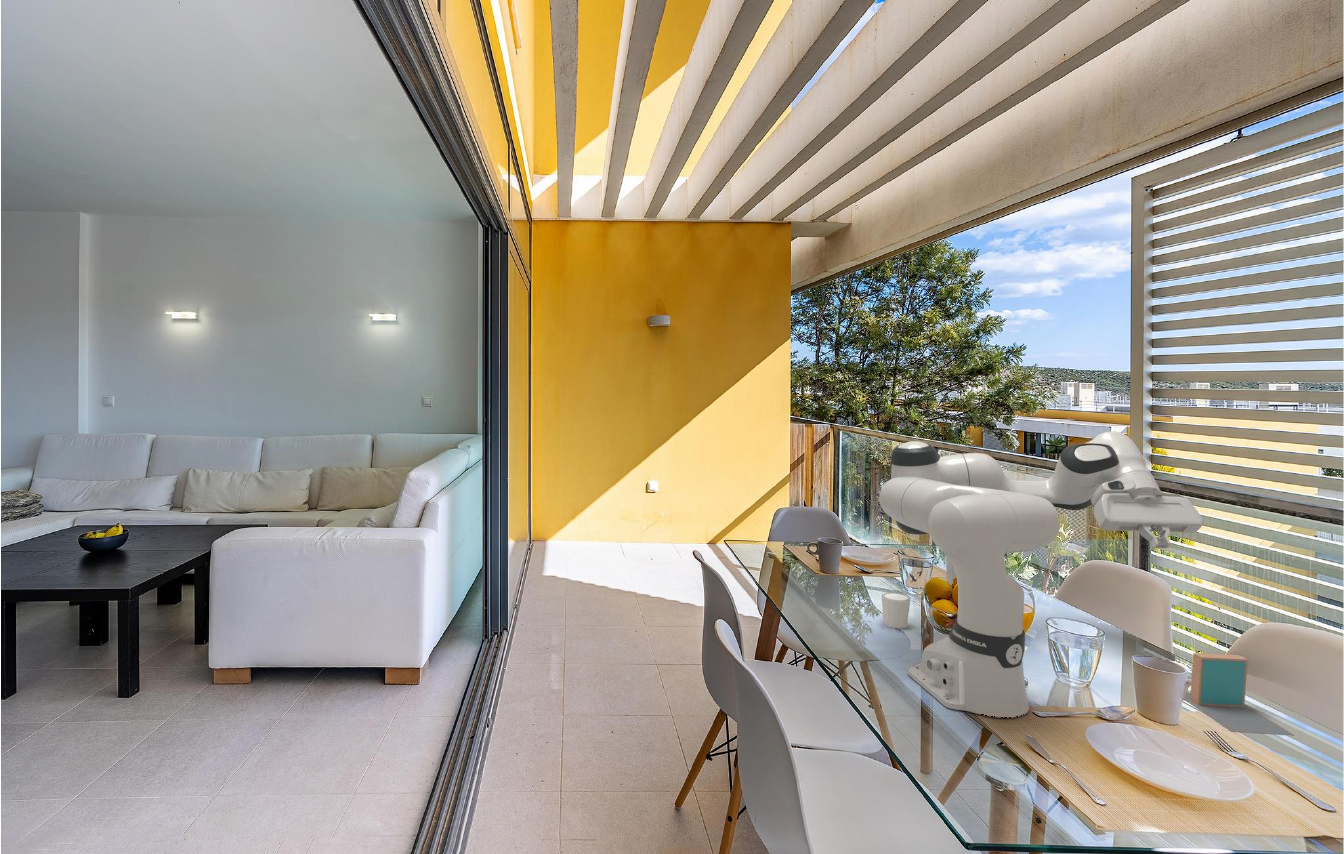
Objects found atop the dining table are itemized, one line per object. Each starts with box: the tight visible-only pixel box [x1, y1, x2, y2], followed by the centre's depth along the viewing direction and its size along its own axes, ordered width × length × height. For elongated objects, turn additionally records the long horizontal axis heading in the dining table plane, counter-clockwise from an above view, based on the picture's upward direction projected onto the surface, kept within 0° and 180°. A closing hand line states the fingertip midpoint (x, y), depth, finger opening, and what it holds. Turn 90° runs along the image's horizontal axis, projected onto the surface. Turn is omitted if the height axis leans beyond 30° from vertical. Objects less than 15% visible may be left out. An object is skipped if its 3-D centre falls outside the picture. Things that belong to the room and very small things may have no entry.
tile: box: [1190, 652, 1249, 707], centre depth 121 cm, size 2×8×9 cm, turn 85°
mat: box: [1183, 692, 1294, 736], centre depth 118 cm, size 14×10×1 cm
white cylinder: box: [881, 592, 912, 629], centre depth 161 cm, size 7×7×7 cm
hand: (1161, 546), depth 137 cm, fingers closed
